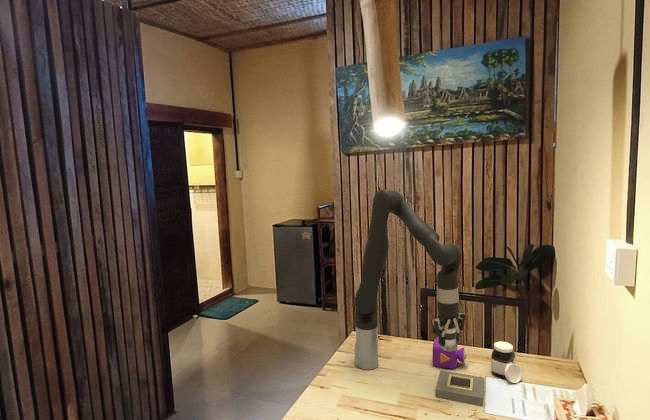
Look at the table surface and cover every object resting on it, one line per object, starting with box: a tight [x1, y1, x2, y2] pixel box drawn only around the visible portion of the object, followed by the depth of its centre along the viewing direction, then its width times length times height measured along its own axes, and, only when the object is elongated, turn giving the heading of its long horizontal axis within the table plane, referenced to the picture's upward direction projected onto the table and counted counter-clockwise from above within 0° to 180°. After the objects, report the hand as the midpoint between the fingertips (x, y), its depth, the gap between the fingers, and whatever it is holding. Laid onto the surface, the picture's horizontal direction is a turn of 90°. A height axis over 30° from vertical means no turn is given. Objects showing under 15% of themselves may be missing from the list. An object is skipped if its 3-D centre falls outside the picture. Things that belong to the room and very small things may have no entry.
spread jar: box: [490, 341, 523, 384], centre depth 155 cm, size 12×11×12 cm
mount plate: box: [434, 370, 485, 407], centre depth 146 cm, size 16×14×4 cm
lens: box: [441, 326, 456, 351], centre depth 145 cm, size 5×5×8 cm
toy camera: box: [432, 337, 468, 370], centre depth 166 cm, size 11×14×10 cm
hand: (449, 343), depth 145 cm, fingers closed on lens, 5 cm apart
